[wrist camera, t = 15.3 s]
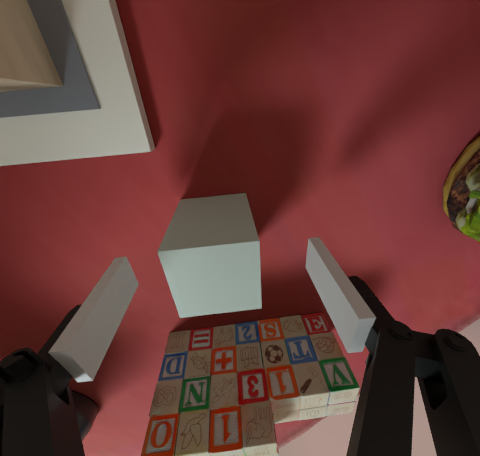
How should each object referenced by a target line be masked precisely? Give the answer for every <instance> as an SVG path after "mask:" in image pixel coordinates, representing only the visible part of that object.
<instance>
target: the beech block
mask: <svg viewBox="0 0 480 456" xmlns="http://www.w3.org/2000/svg"><path fill="white" fill-rule="evenodd" d="M59 86H63V84H62V82H61V80H60V77H59V75H58V72H57V70H56V68H55V65H54V63H53V61H52V58H51V56H50V54H49V51H48V49H47V47H46V44H45V42H44V39H43V37H42V35H41V32H40V30H39V28H38V25H37V23H36V21H35V18H34V16H33V13H32V11H31V9H30V6H29V4H28V2H27V0H0V92H5V91H16V90H26V89H37V88H48V87H59Z"/></svg>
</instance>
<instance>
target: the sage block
mask: <svg viewBox="0 0 480 456" xmlns="http://www.w3.org/2000/svg"><path fill="white" fill-rule="evenodd" d="M158 255H159V258H160V261H161V264H162V267H163V270H164V272H165V275H166V278H167V281H168V284H169V287H170V290H171V293H172V296H173V299H174V302H175V305H176V307H177V310H178V313H179V316H180V318H184V317H193V316H201V315H210V314H218V313H227V312H236V311H244V310H253V309H261V308H262V300H261V272H260V244H259V238H258V234H257V231H256V227H255V224H254V220H253V217H252V213H251V210H250V206H249V202H248V199H247V195H246V193H240V194H230V195H220V196H211V197H201V198H191V199H181V200H180V202H179V204H178V206H177V208H176V211H175V213H174V215H173V217H172V220H171V222H170V224H169V227H168V229H167V231H166V233H165V236H164V238H163V240H162V243H161V245H160V247H159V249H158Z"/></svg>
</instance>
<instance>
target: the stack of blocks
mask: <svg viewBox="0 0 480 456" xmlns="http://www.w3.org/2000/svg"><path fill="white" fill-rule="evenodd" d="M359 389H360V387H359V384H358V382H357V380H356V378H355V376H354V374H353V372H352V370H351V368H350V366H349V364H348V362H347V360H346V358H345V357H344V356H343V353H342V351H341V349H340V347H339V345H338V342H337V340H336V338H335V336H334V334H333V333H332V331H331V329H330V327H329V325H328V322H327V320H326V318H325V316H324V314H323V313H322V312H319V313H313V314H306V315H301V316H300V315H295V316H287V317H281V318H273V319H265V320H258V321H253V322H246V323H239V324H232V325H225V326H218V327H209V328H201V329H194V330H186V331H179V332H172V333H169V336H168V341H167V345H166V349H165V354H164V359H163V363H162V367H161V371H160V375H159V378H158V383H157V385H156V389H155V392H154V397H153V401H152V405H151V409H150V413H149V418H150V420H149V424H148V428H147V432H146V436H145V440H144V444H143V448H142V453H141V456H279V451H278V445H277V439H276V432H275V425H274V424H275V423H282V422H289V421H295V420H305V419H312V418H319V417H325V416H332V415H340V414H345V413H351V412H352V410H353V407H354V404H355V402H356V401H355V400H356V397H357V395H358V392H359Z"/></svg>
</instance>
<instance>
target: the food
mask: <svg viewBox="0 0 480 456" xmlns="http://www.w3.org/2000/svg"><path fill="white" fill-rule="evenodd" d="M443 210H444V211H445V213H446V214H447V216H448V217H449V218H450V220H451V222H452V225H453V227H454V228H456V229H457V230H459V231H460V232H462V233H463V234H465V235H467V236H469V237H471V238H473V239H475V240H477V241H478V243H480V136H479V137H478V138H476V139H475V140H474V141H473V142H472V143H471V144H470V145H468V146H467V147H466V149H465V150H464V152H463V153H462V154H461V156H460V157H459V159H458V160H457V162H456V163H455V164H454V166H453V167H452V169H451V171H450V173H449V175H448V178H447V180H446V182H445V185H444V187H443Z"/></svg>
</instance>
